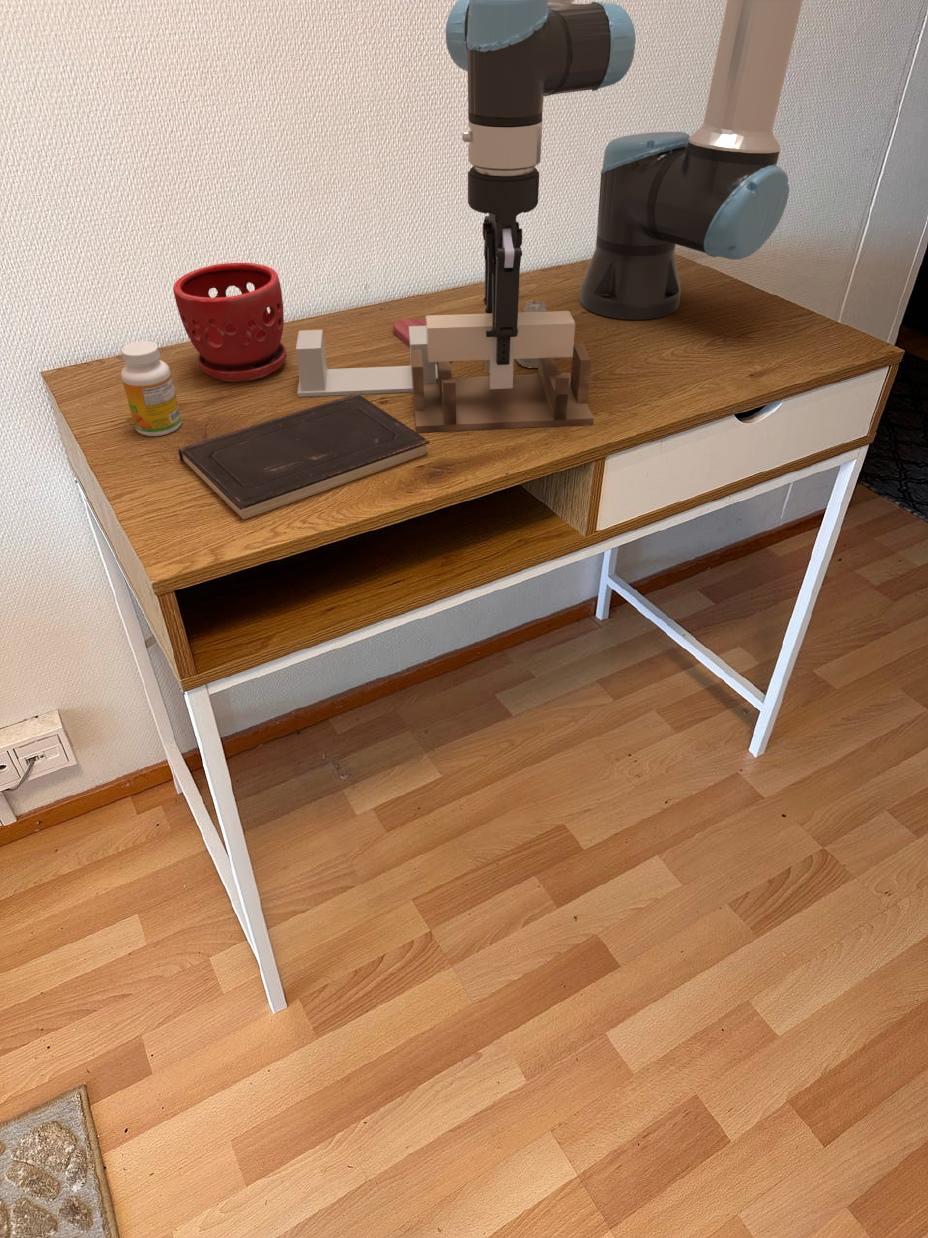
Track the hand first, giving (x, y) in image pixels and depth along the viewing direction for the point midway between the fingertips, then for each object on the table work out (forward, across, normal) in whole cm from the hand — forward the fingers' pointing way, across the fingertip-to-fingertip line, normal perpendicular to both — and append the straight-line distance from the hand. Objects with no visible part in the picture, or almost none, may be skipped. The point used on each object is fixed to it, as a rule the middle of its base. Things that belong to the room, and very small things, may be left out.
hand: (498, 378), depth 106 cm
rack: (+3, 0, 0) cm, 3 cm away
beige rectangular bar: (-3, 0, 0) cm, 3 cm away
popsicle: (+4, -20, -8) cm, 22 cm away
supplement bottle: (+4, +2, -41) cm, 41 cm away
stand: (+3, -8, -16) cm, 18 cm away
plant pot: (+4, -14, -33) cm, 36 cm away
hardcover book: (+4, +11, -23) cm, 26 cm away
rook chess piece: (+4, -12, +6) cm, 14 cm away
